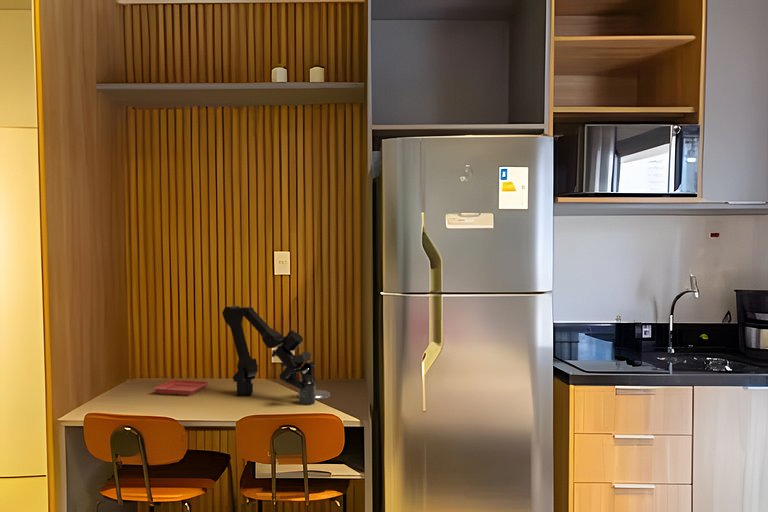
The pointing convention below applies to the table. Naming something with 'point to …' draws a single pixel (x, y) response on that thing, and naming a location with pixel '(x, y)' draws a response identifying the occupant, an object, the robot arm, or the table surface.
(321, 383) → the table surface
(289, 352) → the robot arm
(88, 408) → the table surface
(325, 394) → the rosette plate
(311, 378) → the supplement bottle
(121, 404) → the table surface
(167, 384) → the plant saucer
